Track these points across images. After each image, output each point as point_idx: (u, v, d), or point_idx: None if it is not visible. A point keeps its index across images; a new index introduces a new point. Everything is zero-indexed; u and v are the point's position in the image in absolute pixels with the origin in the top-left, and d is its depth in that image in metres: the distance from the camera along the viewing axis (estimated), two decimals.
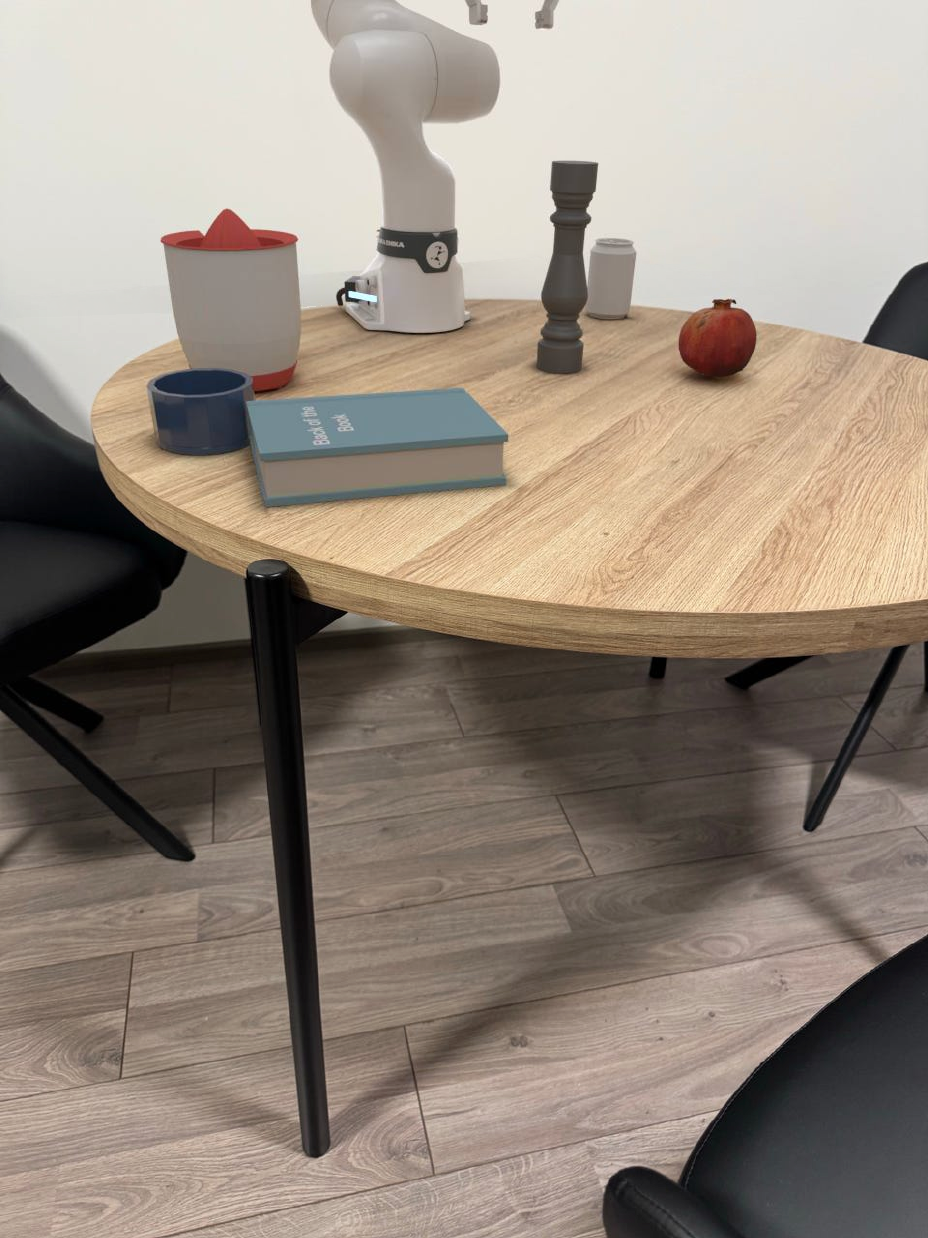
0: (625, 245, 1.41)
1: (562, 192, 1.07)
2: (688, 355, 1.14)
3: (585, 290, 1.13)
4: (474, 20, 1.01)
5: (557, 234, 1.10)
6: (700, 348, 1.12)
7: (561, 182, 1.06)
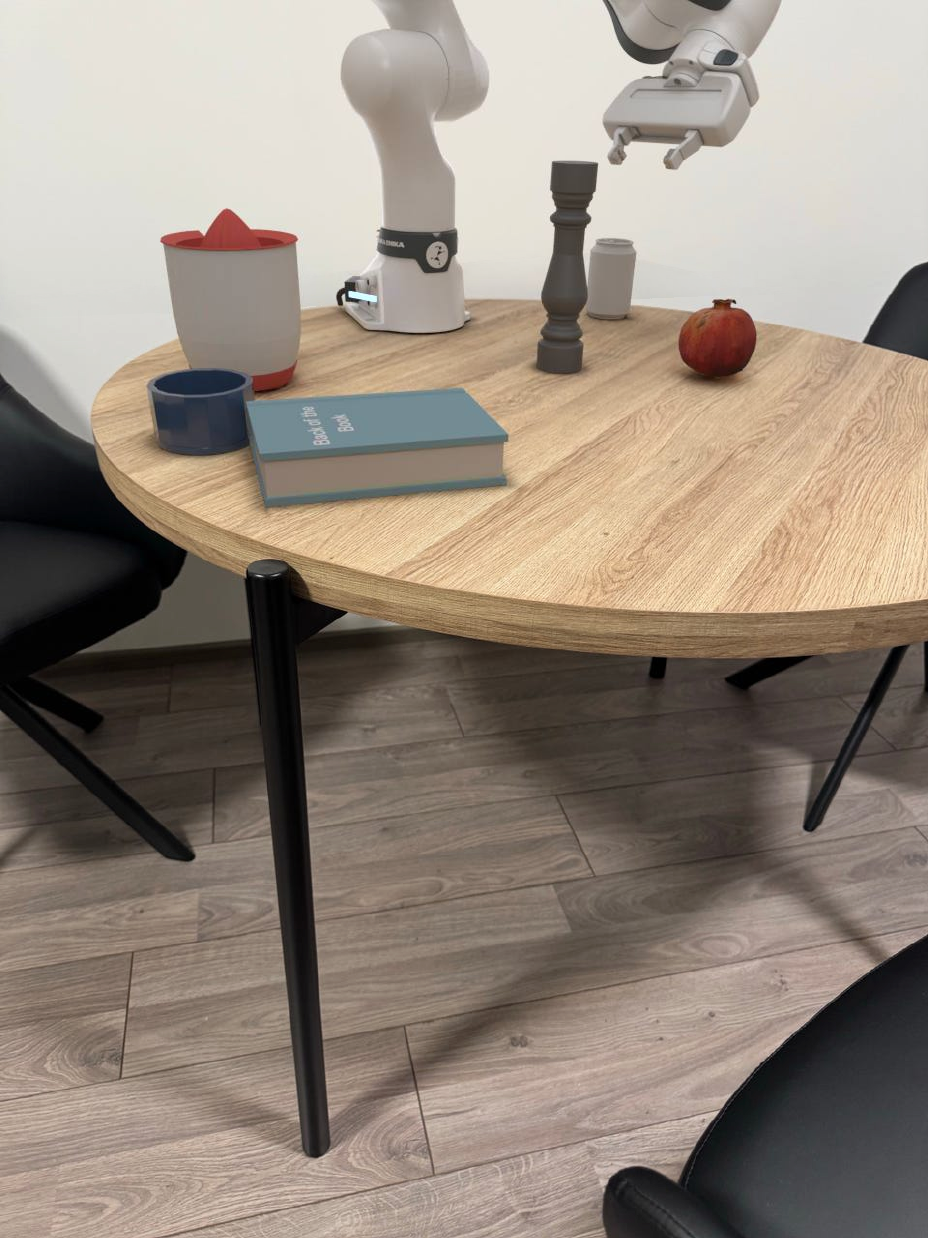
0: (625, 245, 1.41)
1: (562, 192, 1.07)
2: (688, 355, 1.14)
3: (585, 290, 1.13)
4: (675, 165, 1.11)
5: (557, 234, 1.10)
6: (700, 348, 1.12)
7: (561, 182, 1.06)
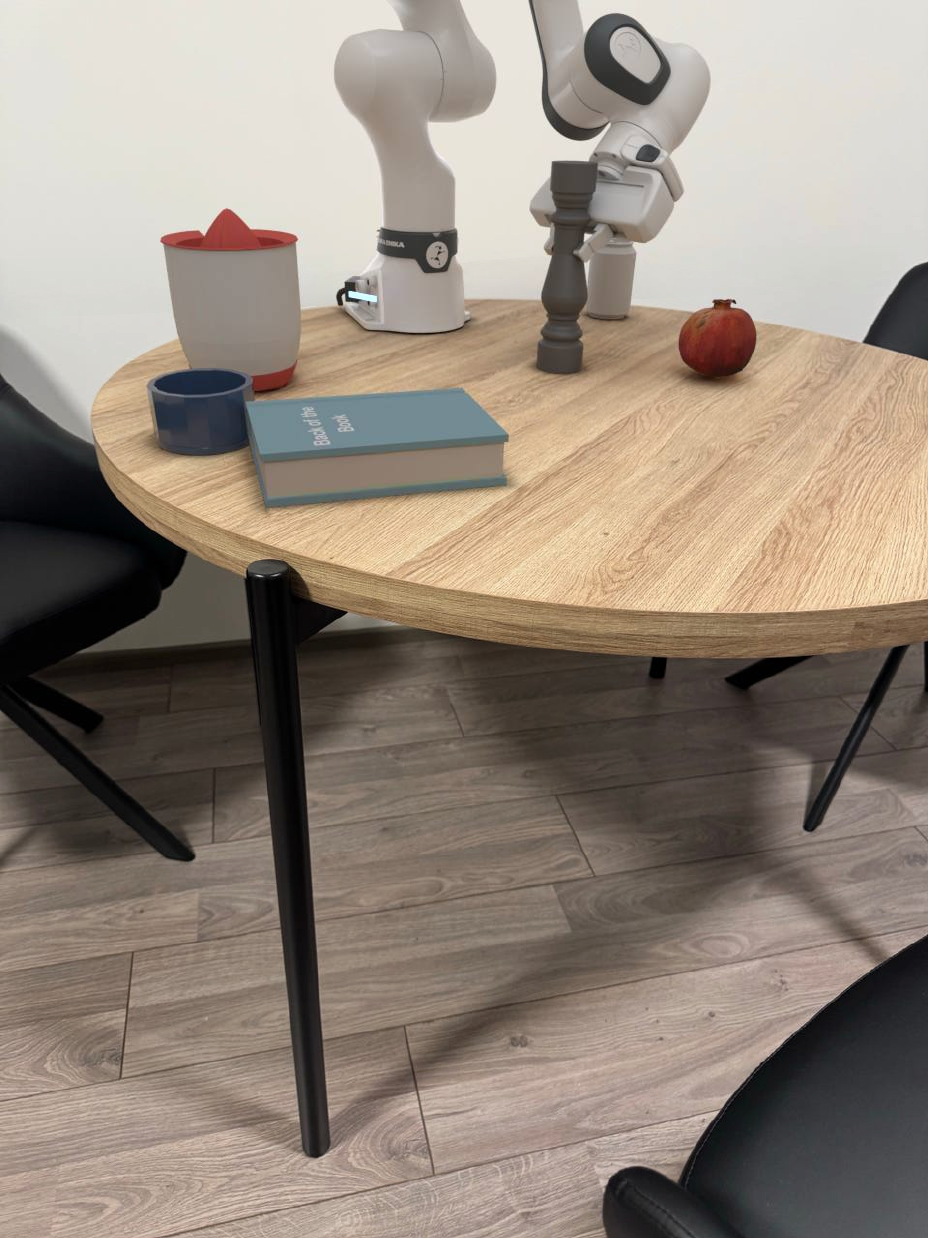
0: (625, 245, 1.41)
1: (562, 192, 1.07)
2: (688, 355, 1.14)
3: (585, 290, 1.13)
4: (584, 258, 1.10)
5: (557, 234, 1.10)
6: (700, 348, 1.12)
7: (561, 182, 1.06)
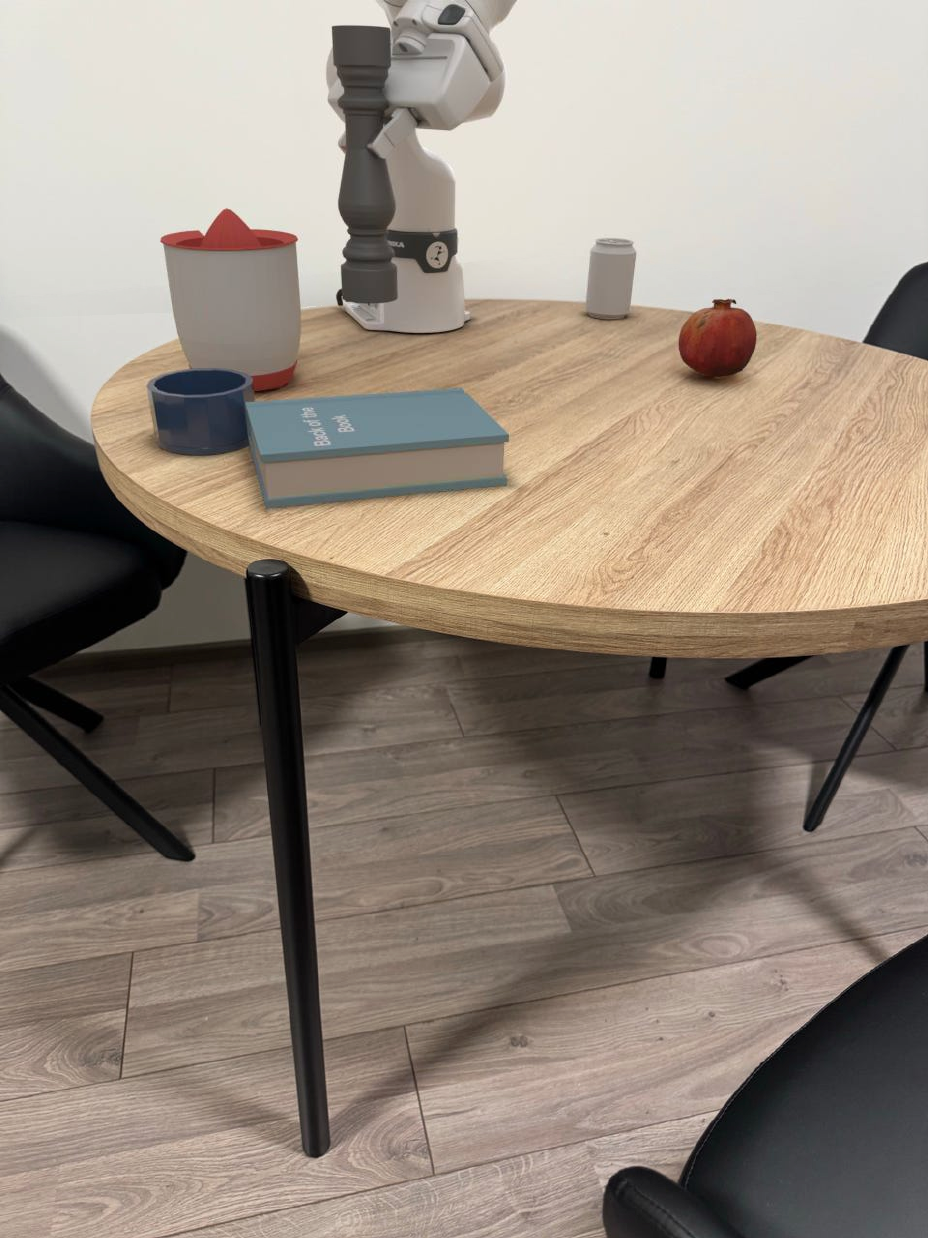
0: (625, 245, 1.41)
1: (344, 64, 0.84)
2: (688, 355, 1.14)
3: (389, 196, 0.91)
4: (381, 153, 0.88)
5: (347, 123, 0.88)
6: (700, 348, 1.12)
7: (341, 51, 0.84)
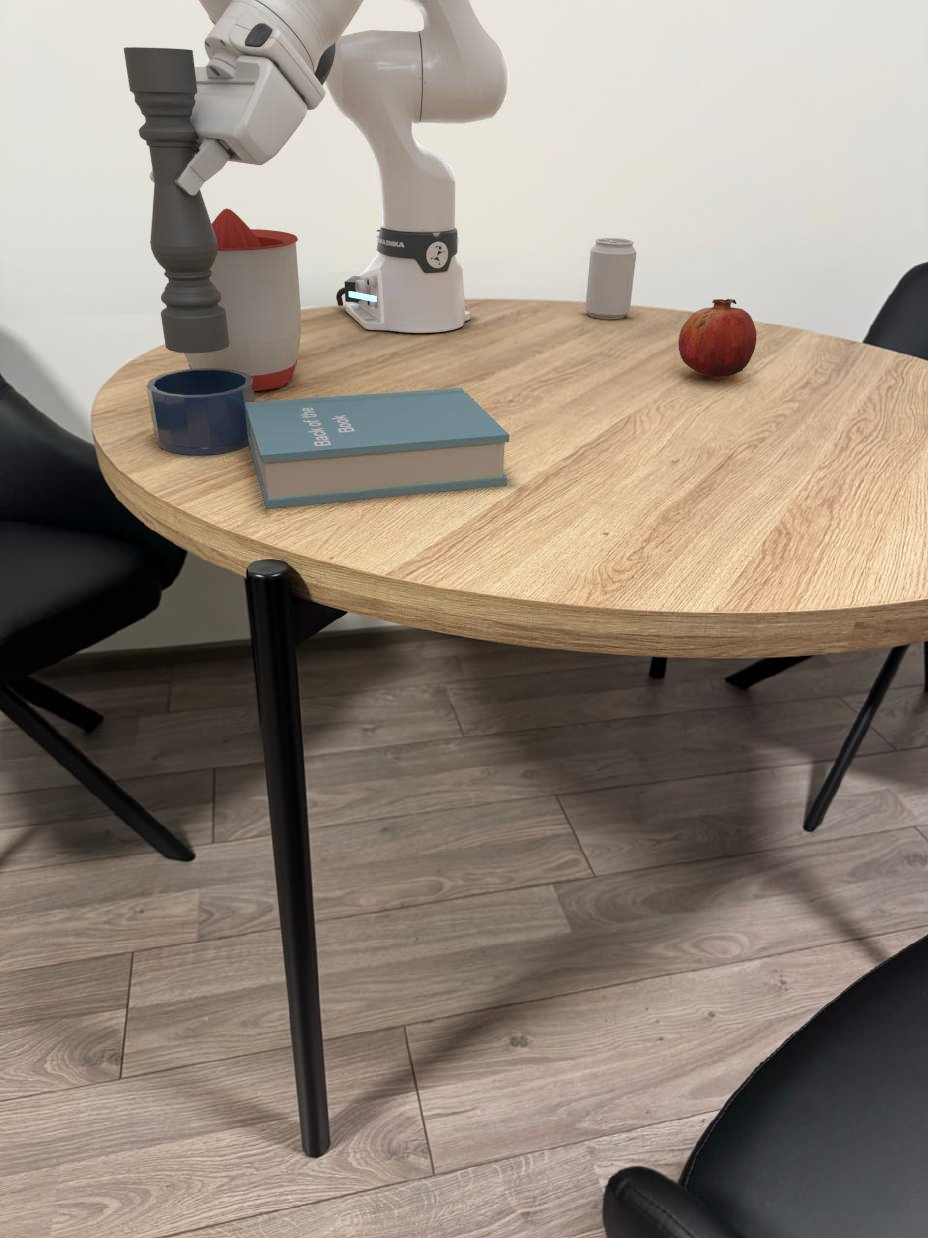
0: (625, 245, 1.41)
1: (138, 91, 0.75)
2: (688, 355, 1.14)
3: (206, 236, 0.81)
4: (189, 189, 0.78)
5: (151, 155, 0.78)
6: (700, 348, 1.12)
7: (134, 75, 0.74)
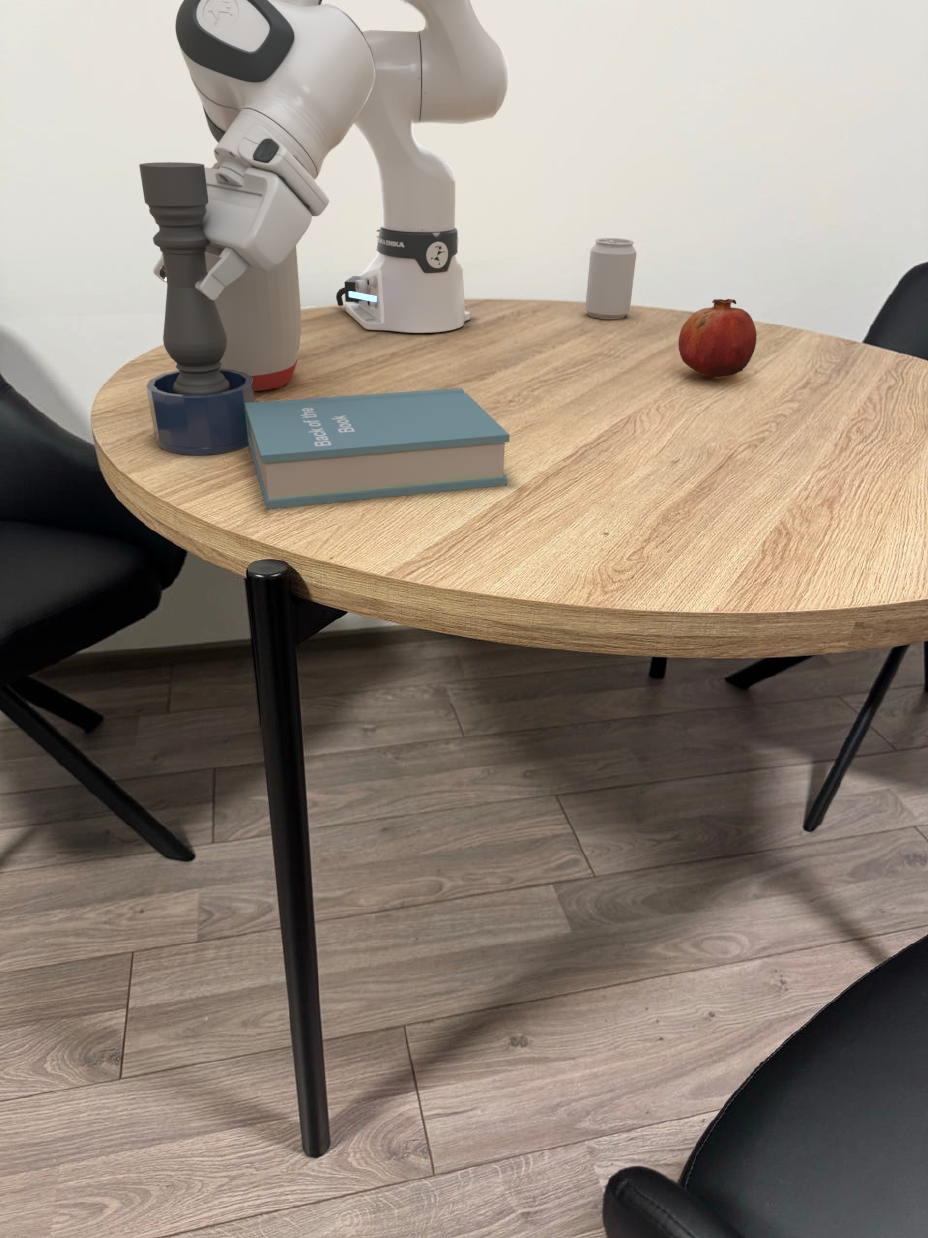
0: (625, 245, 1.41)
1: (153, 205, 0.79)
2: (688, 355, 1.14)
3: (216, 333, 0.86)
4: (210, 295, 0.81)
5: (164, 260, 0.83)
6: (700, 348, 1.12)
7: (149, 191, 0.79)
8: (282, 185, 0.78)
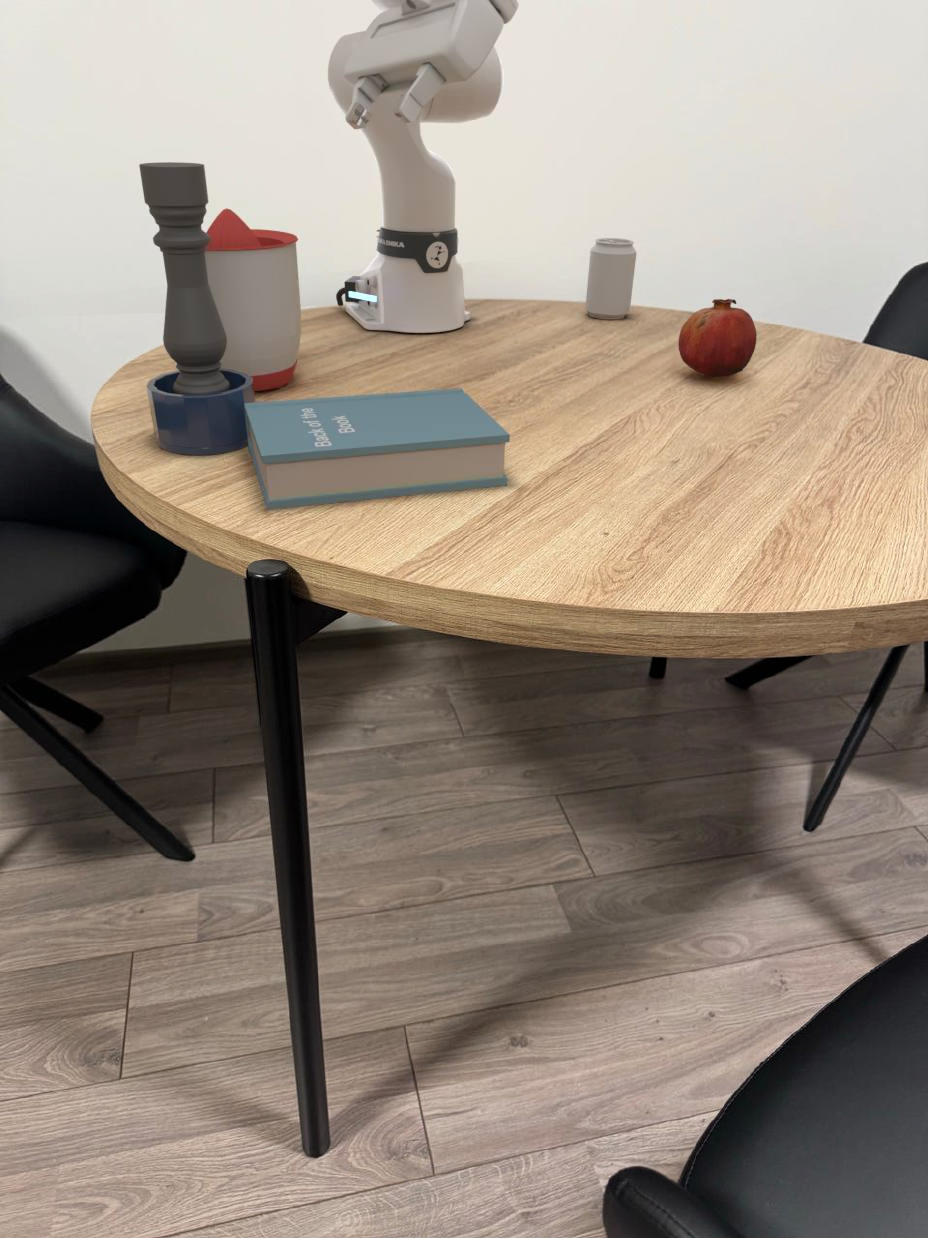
0: (625, 245, 1.41)
1: (153, 205, 0.79)
2: (688, 355, 1.14)
3: (216, 333, 0.86)
4: (409, 116, 0.81)
5: (164, 260, 0.83)
6: (700, 348, 1.12)
7: (149, 191, 0.79)
8: None
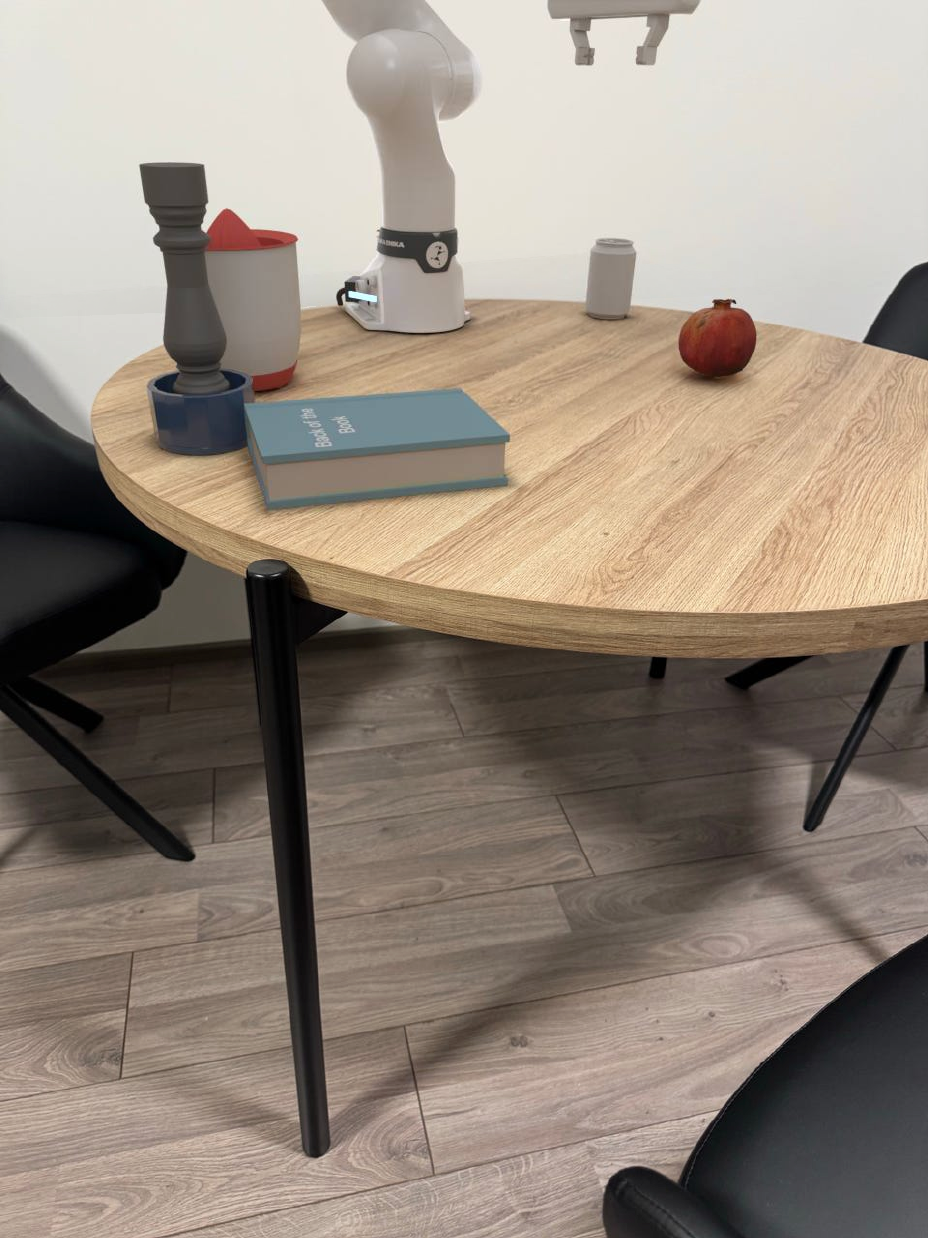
0: (625, 245, 1.41)
1: (153, 205, 0.79)
2: (688, 355, 1.14)
3: (216, 333, 0.86)
4: (651, 62, 0.98)
5: (164, 260, 0.83)
6: (700, 348, 1.12)
7: (149, 191, 0.79)
8: None
